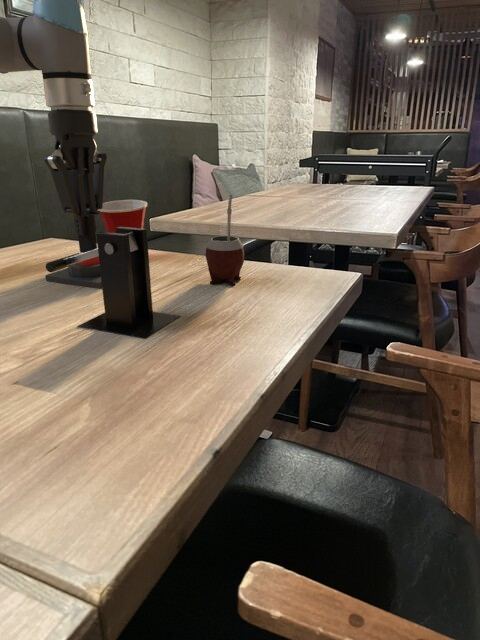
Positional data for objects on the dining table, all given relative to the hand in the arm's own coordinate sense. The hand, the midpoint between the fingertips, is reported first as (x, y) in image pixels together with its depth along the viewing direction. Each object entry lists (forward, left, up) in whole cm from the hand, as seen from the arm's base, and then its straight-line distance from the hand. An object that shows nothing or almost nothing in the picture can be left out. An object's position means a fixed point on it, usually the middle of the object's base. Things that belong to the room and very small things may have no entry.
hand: (88, 252), depth 88 cm
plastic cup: (-6, +19, -6) cm, 21 cm away
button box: (0, 0, -6) cm, 6 cm away
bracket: (+20, -16, -6) cm, 26 cm away
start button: (0, 0, -2) cm, 2 cm away
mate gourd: (+22, +11, -6) cm, 25 cm away
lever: (+15, -16, +3) cm, 22 cm away
